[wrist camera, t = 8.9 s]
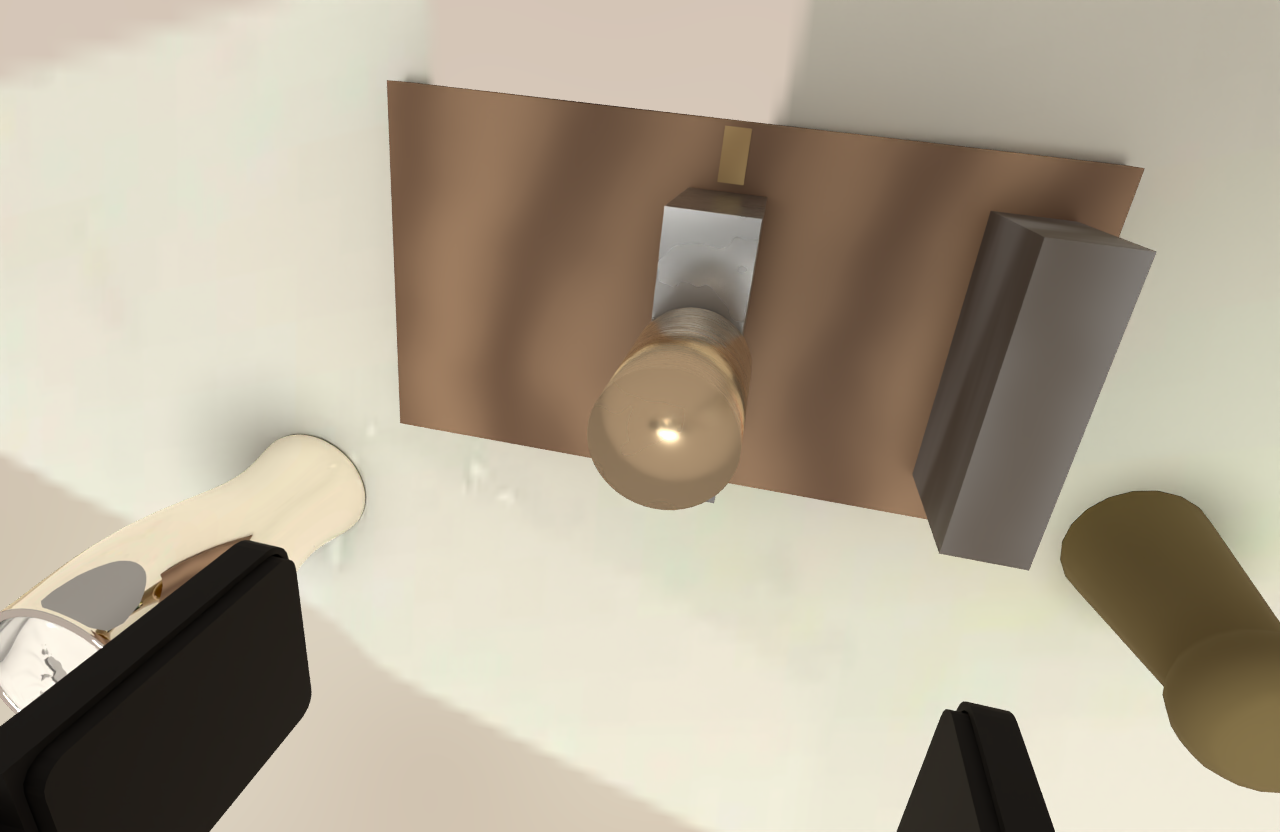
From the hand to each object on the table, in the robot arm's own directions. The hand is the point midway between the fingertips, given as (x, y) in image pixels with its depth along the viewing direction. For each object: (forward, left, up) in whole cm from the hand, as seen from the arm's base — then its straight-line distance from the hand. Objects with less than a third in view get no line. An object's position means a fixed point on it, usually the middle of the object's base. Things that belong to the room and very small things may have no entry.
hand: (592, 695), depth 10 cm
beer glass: (+20, +13, -23) cm, 33 cm away
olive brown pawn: (-20, +8, -23) cm, 31 cm away
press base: (0, 0, -23) cm, 23 cm away
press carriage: (0, 0, -21) cm, 21 cm away
